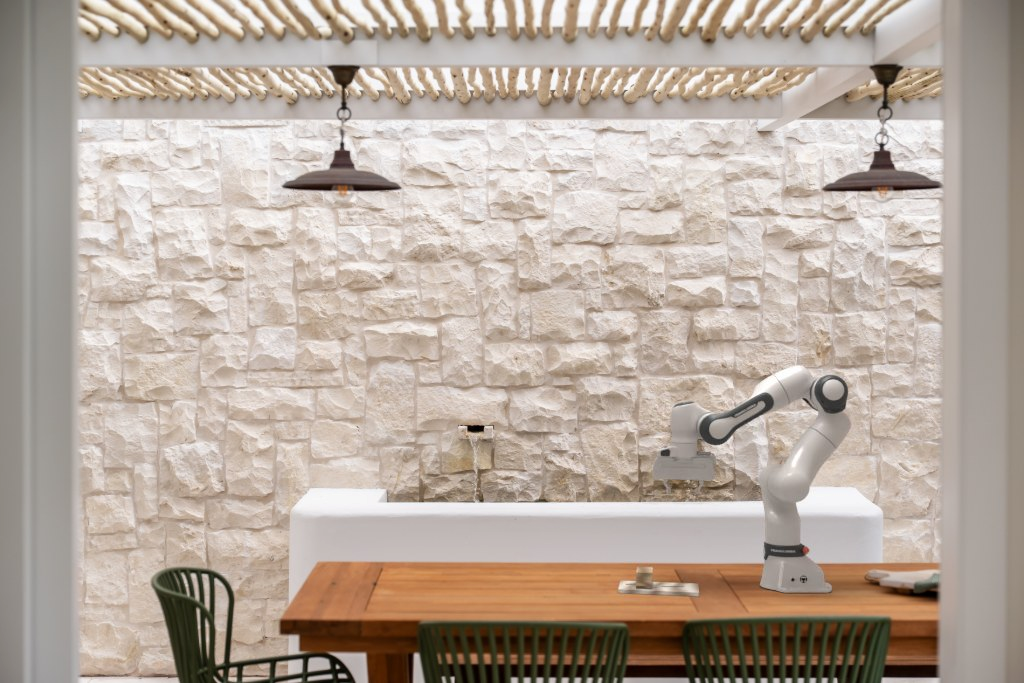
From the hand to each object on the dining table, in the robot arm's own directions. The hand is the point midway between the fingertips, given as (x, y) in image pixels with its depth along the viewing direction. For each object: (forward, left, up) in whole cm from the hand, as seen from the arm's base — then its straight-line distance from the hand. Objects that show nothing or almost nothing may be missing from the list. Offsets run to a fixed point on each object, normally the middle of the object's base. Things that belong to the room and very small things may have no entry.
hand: (683, 493), depth 364 cm
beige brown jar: (+12, +14, -28) cm, 33 cm away
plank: (+7, +13, -29) cm, 33 cm away
